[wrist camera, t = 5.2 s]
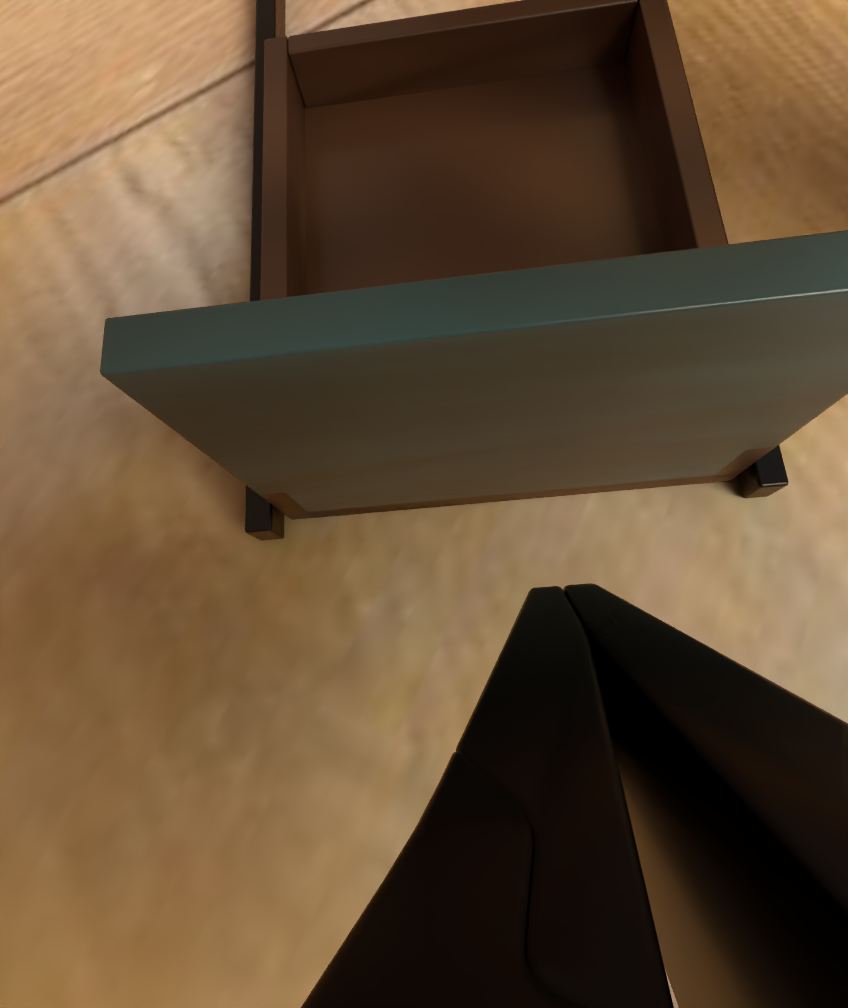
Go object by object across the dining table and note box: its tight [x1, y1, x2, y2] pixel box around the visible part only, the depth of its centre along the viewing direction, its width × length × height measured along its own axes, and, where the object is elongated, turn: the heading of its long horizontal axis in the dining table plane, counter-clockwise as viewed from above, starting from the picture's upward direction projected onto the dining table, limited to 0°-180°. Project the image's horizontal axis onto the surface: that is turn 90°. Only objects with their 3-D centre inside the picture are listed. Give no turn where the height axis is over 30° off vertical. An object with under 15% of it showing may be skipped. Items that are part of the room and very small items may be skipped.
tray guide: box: [245, 0, 788, 540], centre depth 20 cm, size 24×15×1 cm, turn 4°
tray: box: [100, 0, 848, 520], centre depth 15 cm, size 16×13×9 cm
